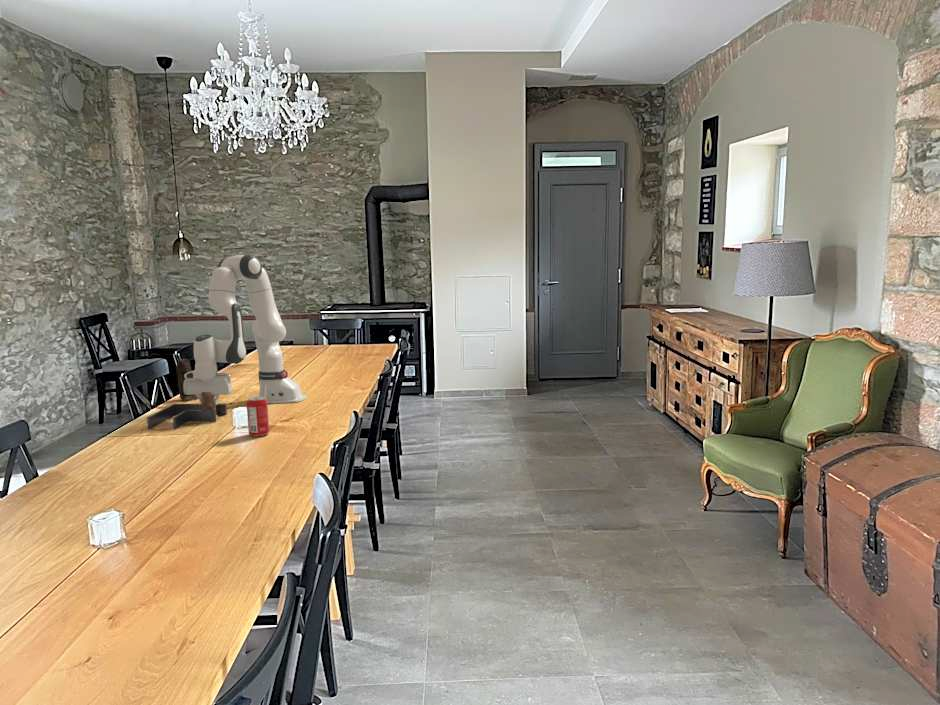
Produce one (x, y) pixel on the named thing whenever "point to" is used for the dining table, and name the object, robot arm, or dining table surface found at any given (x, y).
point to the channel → (185, 414)
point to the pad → (165, 425)
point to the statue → (182, 369)
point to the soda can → (257, 416)
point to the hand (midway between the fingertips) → (209, 404)
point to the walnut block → (208, 401)
